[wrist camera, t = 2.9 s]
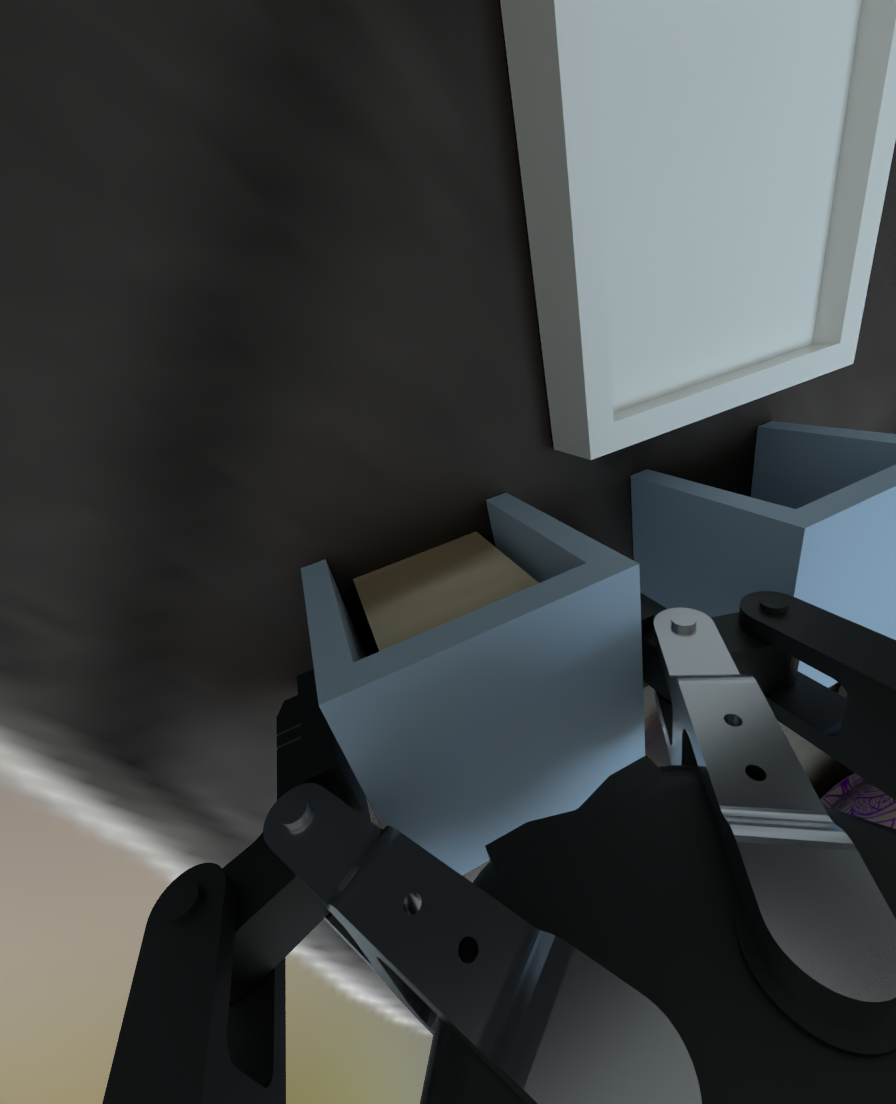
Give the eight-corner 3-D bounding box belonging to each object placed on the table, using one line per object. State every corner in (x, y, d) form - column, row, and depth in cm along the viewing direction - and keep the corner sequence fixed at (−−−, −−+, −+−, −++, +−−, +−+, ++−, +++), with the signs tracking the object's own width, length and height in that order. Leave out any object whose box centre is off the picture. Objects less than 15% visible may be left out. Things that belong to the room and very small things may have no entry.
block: (352, 578, 13) (381, 657, 9) (475, 530, 14) (544, 586, 10) (392, 677, 14) (428, 774, 11) (498, 630, 15) (562, 706, 12)
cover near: (300, 568, 12) (318, 705, 7) (506, 492, 13) (639, 563, 8) (372, 726, 15) (419, 899, 10) (534, 650, 16) (645, 770, 11)
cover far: (630, 475, 15) (805, 528, 10) (771, 421, 16) (986, 444, 11) (636, 623, 18) (772, 720, 13) (755, 566, 19) (919, 634, 14)
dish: (496, -33, 9) (544, -121, 7) (849, -59, 11) (946, -131, 9) (553, 449, 13) (590, 460, 12) (795, 363, 15) (853, 363, 14)
